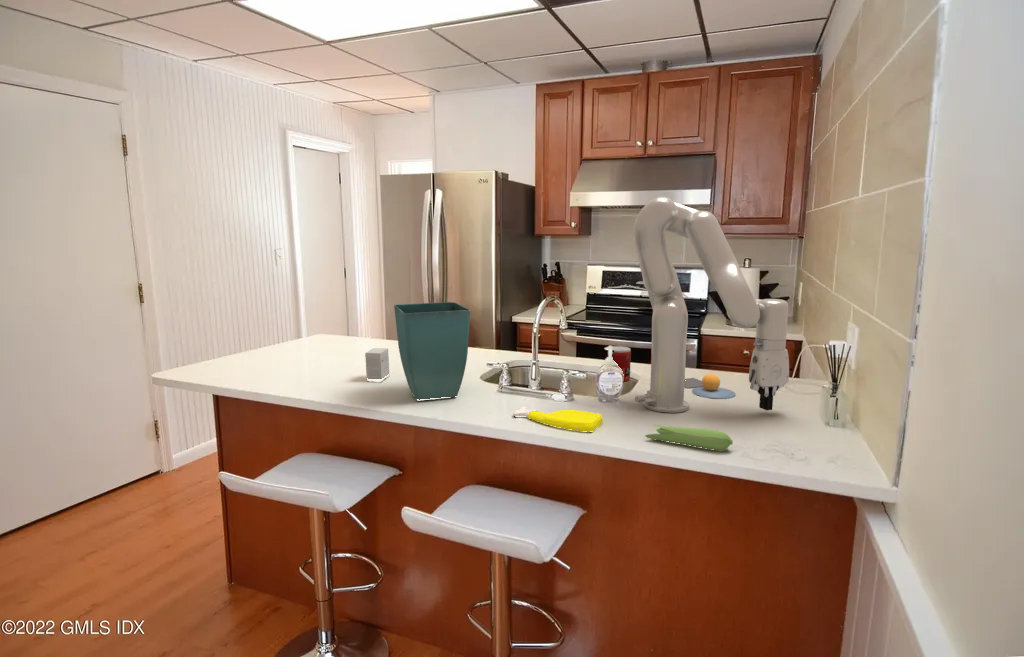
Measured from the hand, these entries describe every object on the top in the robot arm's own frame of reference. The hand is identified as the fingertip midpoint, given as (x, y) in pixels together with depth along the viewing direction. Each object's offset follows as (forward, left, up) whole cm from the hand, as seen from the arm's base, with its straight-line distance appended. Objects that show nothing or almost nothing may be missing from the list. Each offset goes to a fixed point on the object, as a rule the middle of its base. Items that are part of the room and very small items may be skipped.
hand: (765, 408), depth 154 cm
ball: (+1, +25, +1) cm, 25 cm away
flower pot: (-84, +50, -2) cm, 98 cm away
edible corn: (-34, -12, -2) cm, 36 cm away
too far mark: (0, +34, -2) cm, 34 cm away
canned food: (-20, +47, -2) cm, 51 cm away
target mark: (0, +22, -2) cm, 22 cm away
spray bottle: (-57, +15, -2) cm, 59 cm away
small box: (-99, +76, -2) cm, 125 cm away
